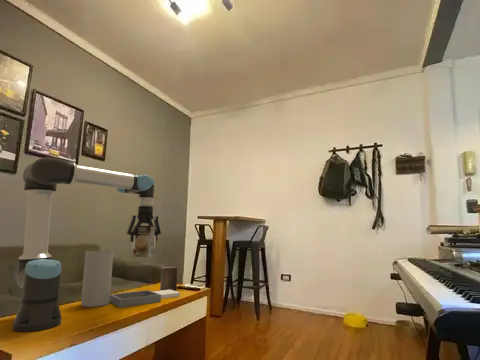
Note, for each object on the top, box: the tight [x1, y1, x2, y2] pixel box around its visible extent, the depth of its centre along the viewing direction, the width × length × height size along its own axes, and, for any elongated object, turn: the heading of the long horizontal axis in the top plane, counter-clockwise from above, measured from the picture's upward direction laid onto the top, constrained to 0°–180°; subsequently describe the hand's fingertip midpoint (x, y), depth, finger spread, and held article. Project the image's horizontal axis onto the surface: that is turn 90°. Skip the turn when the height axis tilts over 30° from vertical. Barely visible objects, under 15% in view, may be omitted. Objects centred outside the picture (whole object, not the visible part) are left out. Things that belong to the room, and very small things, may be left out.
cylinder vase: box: [80, 250, 114, 308], centre depth 149 cm, size 12×12×25 cm
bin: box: [109, 289, 162, 309], centre depth 153 cm, size 20×16×4 cm
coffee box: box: [132, 225, 156, 258], centre depth 161 cm, size 9×6×16 cm
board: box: [152, 290, 181, 300], centre depth 167 cm, size 12×12×2 cm
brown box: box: [159, 264, 178, 291], centre depth 185 cm, size 10×10×15 cm
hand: (143, 248), depth 160 cm, fingers closed on coffee box, 10 cm apart
